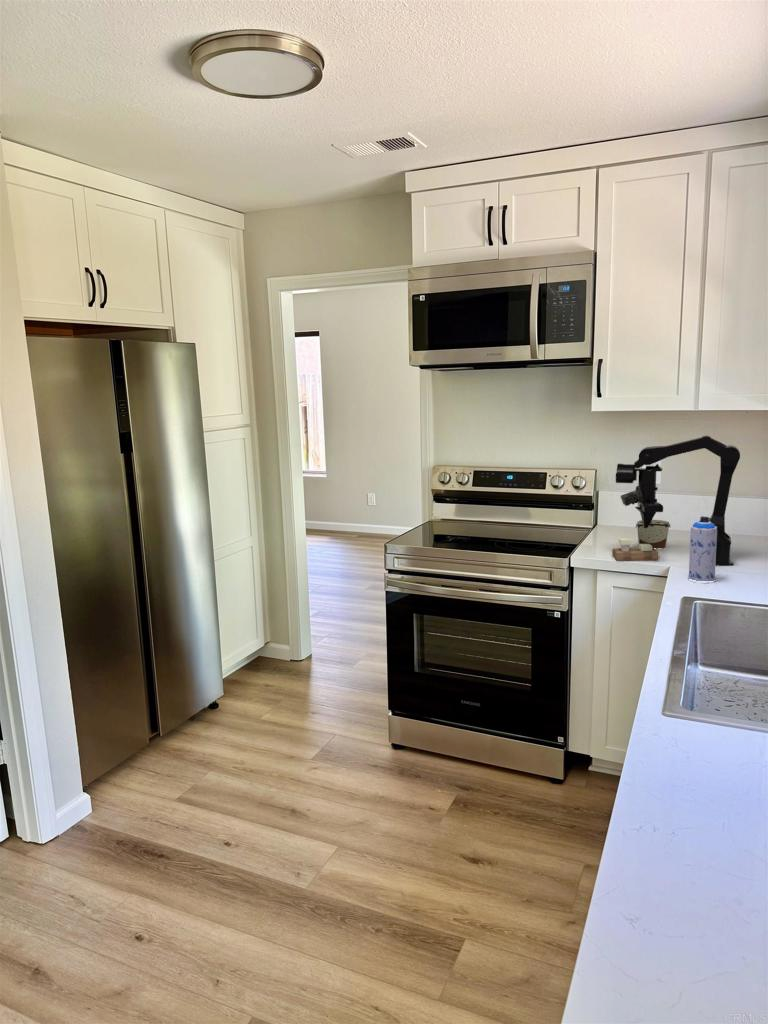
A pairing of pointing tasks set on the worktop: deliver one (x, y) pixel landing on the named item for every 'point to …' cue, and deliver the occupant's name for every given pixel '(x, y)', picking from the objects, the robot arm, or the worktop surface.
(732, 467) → the robot arm
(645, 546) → the plunger
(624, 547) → the plunger
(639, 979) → the worktop surface
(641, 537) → the food container
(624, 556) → the bar
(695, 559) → the aerosol can
